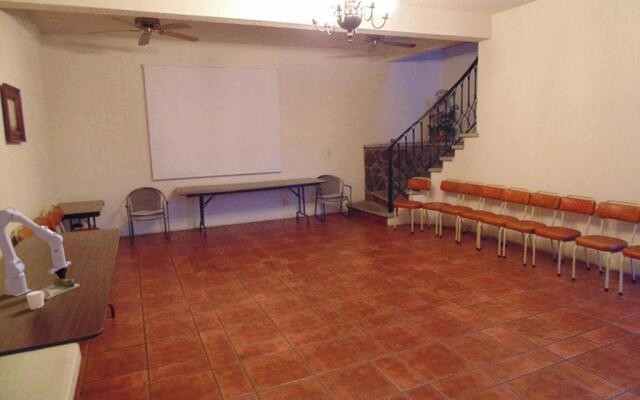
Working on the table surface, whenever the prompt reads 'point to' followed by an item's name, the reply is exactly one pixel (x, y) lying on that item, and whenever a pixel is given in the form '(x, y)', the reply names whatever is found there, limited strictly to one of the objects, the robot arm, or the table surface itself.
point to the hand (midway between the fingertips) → (62, 282)
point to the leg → (64, 282)
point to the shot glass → (35, 299)
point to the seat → (55, 290)
